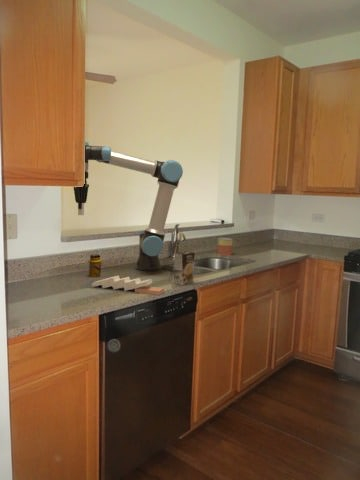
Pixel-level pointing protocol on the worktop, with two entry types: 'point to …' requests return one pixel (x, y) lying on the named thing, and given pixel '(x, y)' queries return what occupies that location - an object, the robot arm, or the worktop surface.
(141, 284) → the domino
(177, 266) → the coffee box
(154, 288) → the domino
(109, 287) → the mat
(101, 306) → the worktop surface
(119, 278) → the domino
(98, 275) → the condiment
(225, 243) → the canned food
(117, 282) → the domino
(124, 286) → the domino
